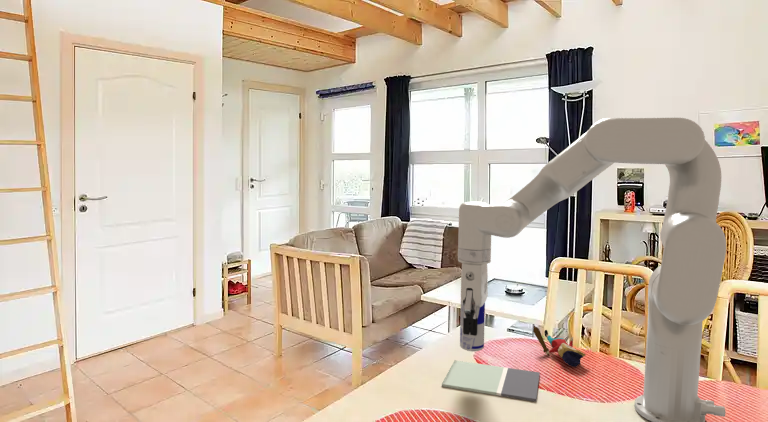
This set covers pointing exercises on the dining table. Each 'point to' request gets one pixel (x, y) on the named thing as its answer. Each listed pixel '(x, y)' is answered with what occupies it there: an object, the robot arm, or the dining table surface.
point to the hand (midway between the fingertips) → (472, 329)
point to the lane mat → (493, 380)
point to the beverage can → (473, 341)
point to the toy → (560, 348)
